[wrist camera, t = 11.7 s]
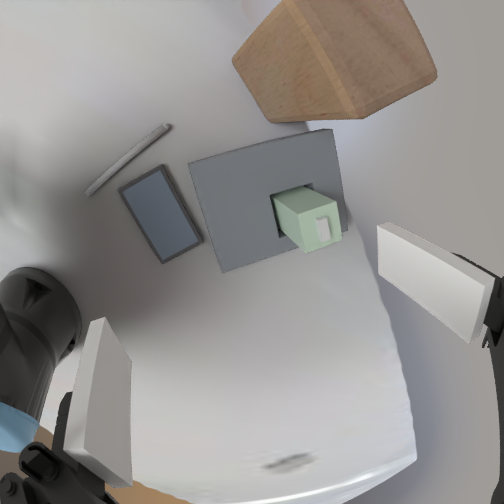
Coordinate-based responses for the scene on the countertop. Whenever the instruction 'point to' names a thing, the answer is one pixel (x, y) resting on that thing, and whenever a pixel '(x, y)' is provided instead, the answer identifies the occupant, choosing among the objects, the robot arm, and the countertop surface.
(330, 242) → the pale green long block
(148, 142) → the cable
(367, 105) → the block
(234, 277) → the countertop surface
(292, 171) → the plate
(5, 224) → the countertop surface
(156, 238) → the phone
